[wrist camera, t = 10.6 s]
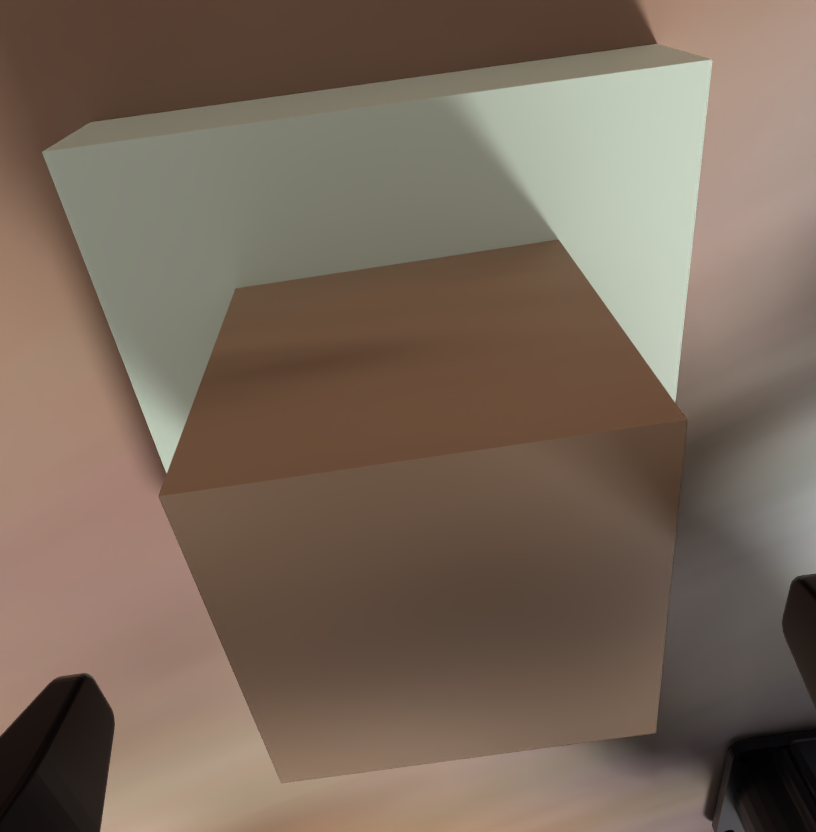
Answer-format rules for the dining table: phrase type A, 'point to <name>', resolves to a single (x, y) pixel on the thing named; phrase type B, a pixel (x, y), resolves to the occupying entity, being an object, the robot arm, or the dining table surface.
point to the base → (388, 197)
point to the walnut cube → (432, 512)
